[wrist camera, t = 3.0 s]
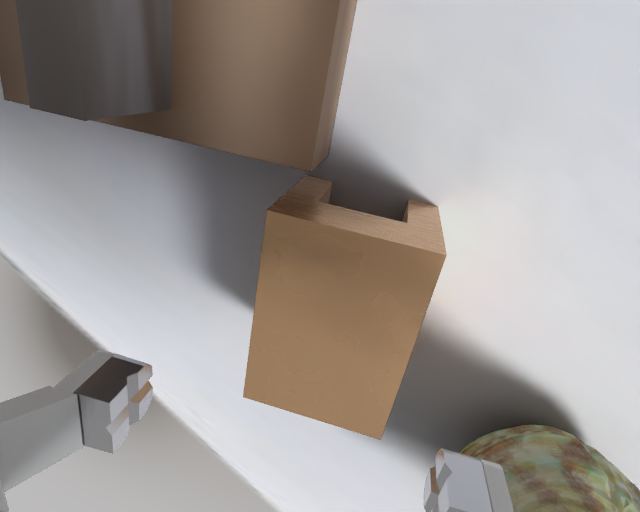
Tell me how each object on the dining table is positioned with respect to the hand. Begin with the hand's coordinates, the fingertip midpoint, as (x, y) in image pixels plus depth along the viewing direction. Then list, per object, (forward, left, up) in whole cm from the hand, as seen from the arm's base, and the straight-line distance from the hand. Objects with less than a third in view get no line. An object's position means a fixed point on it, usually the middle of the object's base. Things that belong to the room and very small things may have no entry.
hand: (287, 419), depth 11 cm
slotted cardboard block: (0, 0, -9) cm, 9 cm away
